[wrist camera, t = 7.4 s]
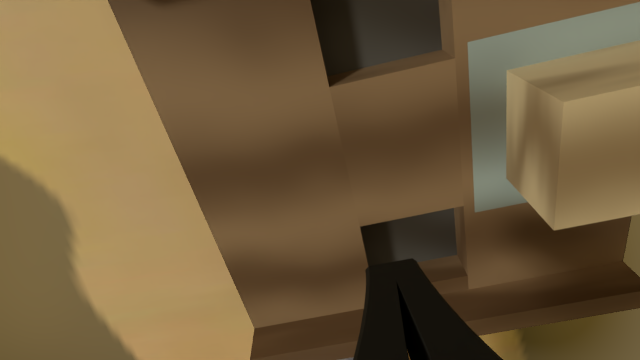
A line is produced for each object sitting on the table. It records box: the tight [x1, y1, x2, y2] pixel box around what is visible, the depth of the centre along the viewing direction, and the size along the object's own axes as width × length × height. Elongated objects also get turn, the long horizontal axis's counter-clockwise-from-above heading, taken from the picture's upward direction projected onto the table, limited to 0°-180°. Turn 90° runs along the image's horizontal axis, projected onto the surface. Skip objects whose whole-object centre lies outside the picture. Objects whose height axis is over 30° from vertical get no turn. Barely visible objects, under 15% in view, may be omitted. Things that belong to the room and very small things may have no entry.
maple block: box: [506, 40, 640, 231], centre depth 15 cm, size 5×5×4 cm
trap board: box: [108, 0, 640, 360], centre depth 17 cm, size 20×20×4 cm
